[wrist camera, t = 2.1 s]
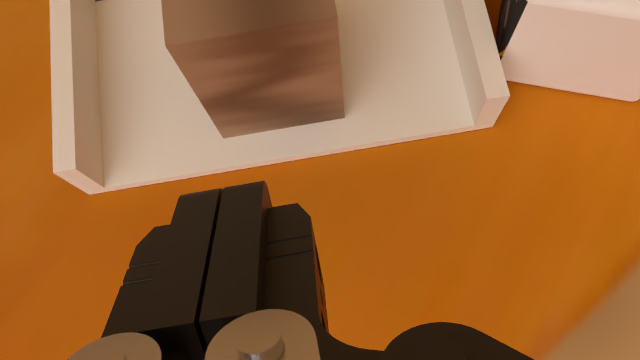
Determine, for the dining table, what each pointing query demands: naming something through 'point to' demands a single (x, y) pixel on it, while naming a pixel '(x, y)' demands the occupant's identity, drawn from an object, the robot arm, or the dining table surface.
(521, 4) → the medicine bottle
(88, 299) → the dining table surface
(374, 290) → the dining table surface
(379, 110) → the shallow white tray
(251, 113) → the walnut block
